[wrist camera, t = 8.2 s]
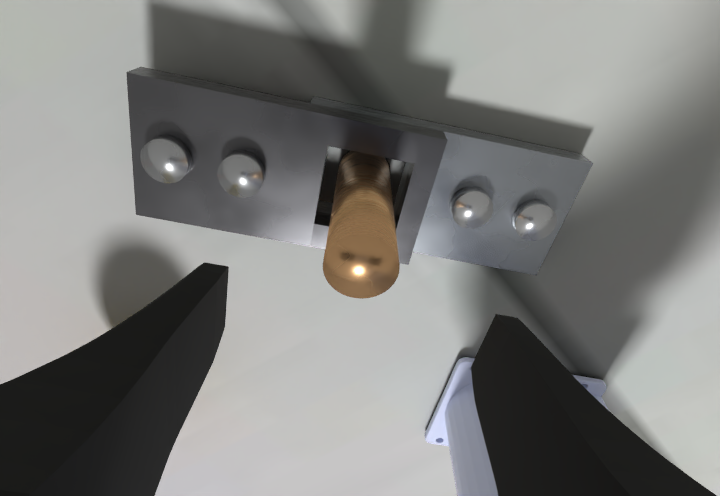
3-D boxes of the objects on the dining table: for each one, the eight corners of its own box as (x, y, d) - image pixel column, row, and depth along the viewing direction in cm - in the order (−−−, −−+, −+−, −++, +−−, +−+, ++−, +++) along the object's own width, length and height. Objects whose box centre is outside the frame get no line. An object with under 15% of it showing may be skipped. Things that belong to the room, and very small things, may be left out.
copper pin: (395, 154, 20) (408, 244, 13) (381, 200, 21) (388, 304, 15) (344, 142, 20) (331, 227, 13) (333, 189, 21) (316, 290, 14)
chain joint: (581, 153, 20) (612, 179, 17) (528, 262, 23) (548, 297, 21) (153, 61, 18) (118, 75, 16) (158, 192, 21) (129, 221, 19)
